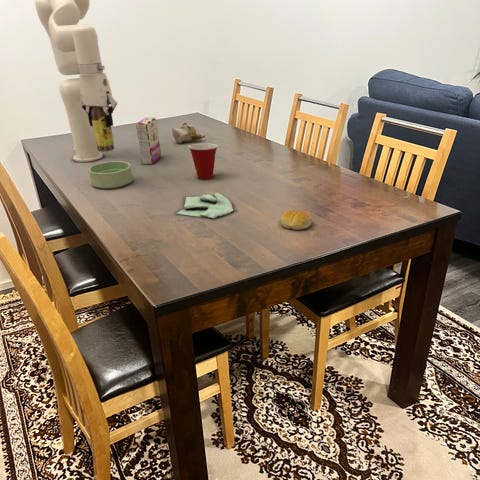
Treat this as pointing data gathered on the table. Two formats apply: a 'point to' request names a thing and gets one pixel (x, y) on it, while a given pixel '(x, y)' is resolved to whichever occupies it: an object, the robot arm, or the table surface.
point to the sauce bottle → (101, 130)
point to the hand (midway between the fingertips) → (101, 125)
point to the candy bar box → (148, 140)
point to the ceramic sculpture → (186, 133)
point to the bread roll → (296, 220)
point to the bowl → (110, 174)
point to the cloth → (207, 206)
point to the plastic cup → (204, 159)
